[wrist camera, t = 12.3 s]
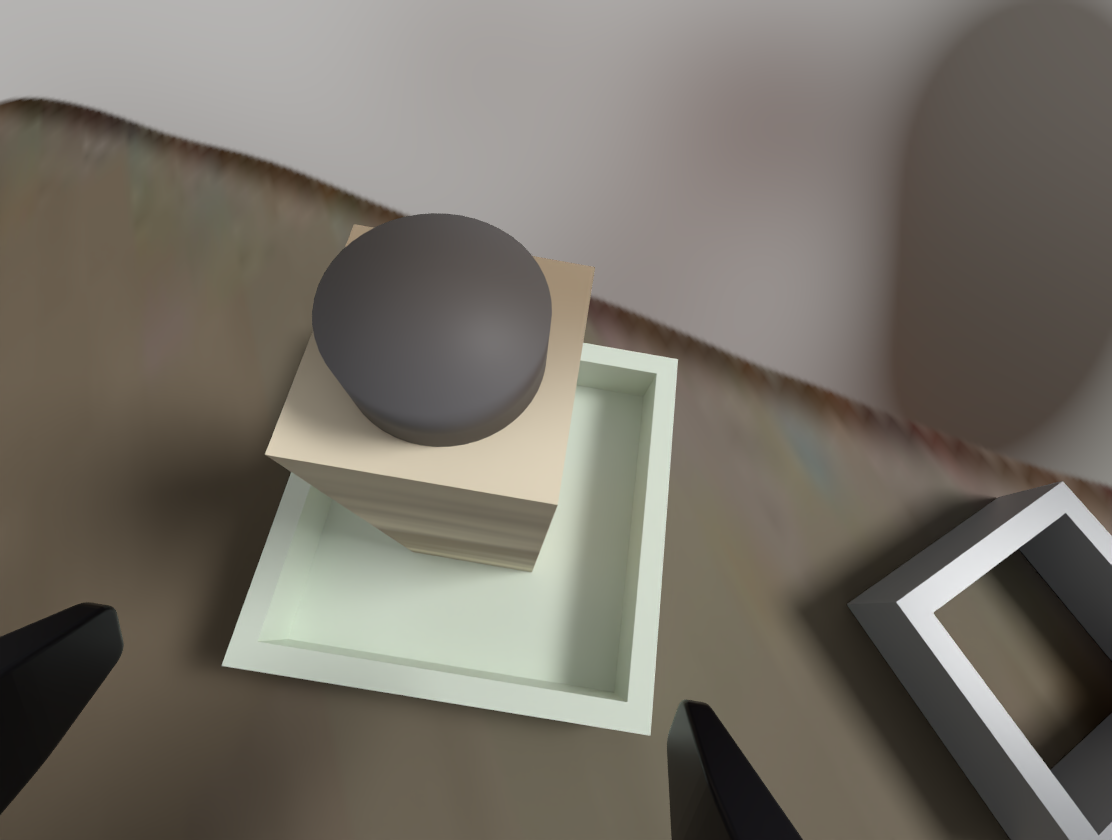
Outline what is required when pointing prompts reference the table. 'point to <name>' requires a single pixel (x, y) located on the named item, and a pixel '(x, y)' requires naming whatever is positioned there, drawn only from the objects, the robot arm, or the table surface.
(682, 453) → the table surface
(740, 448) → the table surface
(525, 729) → the table surface
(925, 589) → the frame
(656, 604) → the sage tray
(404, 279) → the birch strut
